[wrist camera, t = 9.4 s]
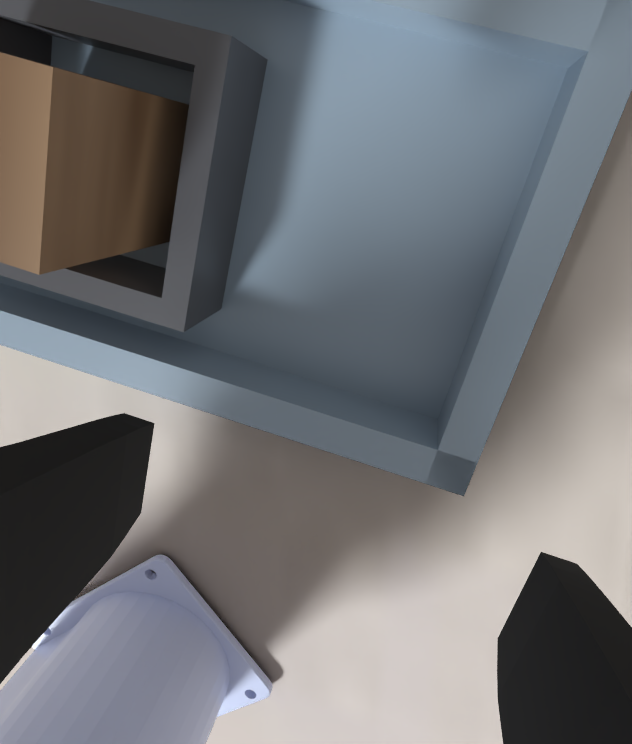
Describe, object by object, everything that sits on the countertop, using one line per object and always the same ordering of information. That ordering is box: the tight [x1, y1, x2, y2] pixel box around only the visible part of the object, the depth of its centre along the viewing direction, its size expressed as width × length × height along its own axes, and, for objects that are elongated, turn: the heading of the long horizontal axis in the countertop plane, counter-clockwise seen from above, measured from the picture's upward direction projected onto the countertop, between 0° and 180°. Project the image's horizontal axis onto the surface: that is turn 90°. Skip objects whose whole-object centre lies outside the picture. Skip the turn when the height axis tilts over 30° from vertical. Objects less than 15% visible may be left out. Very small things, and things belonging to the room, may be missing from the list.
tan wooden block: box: [0, 52, 189, 275], centre depth 14 cm, size 4×4×7 cm
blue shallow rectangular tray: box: [0, 0, 632, 496], centre depth 16 cm, size 20×13×3 cm, turn 78°
